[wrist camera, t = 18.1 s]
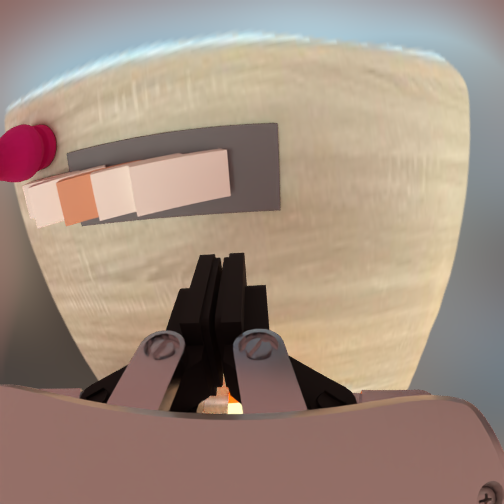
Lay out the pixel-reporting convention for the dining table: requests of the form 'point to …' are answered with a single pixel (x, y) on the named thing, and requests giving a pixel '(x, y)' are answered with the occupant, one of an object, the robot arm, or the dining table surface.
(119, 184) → the domino
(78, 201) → the domino
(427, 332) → the dining table surface
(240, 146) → the mat
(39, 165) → the pepper mill
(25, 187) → the domino
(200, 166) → the domino
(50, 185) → the domino
